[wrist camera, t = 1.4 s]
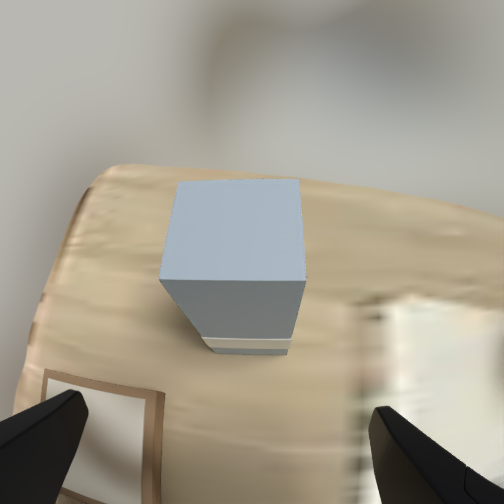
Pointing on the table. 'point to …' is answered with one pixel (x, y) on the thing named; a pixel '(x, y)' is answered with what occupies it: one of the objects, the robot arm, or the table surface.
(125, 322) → the table surface
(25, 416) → the robot arm
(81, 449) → the tray
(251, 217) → the carton
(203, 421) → the table surface
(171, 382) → the table surface
